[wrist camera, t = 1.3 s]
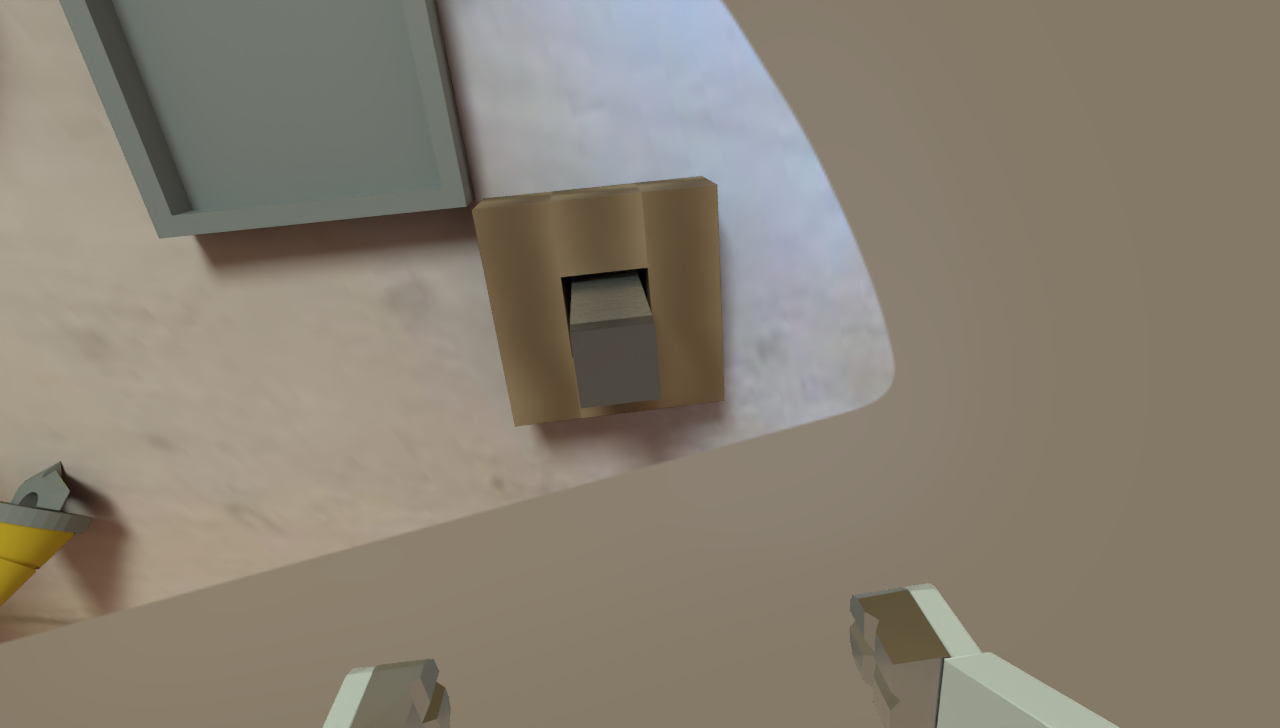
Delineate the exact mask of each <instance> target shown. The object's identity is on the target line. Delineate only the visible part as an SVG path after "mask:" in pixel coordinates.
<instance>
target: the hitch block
mask: <svg viewBox="0 0 1280 728" xmlns="http://www.w3.org/2000/svg"><path fill="white" fill-rule="evenodd" d="M472 214H473V219H474V224H475V229H476V234H477V239H478V244H479V249H480V254H481V259H482V264H483V269H484V274H485V279H486V284H487V289H488V294H489V299H490V304H491V309H492V314H493V319H494V324H495V329H496V334H497V339H498V344H499V349H500V354H501V359H502V364H503V369H504V374H505V379H506V384H507V389H508V394H509V399H510V404H511V409H512V414H513V419H514V424H515V426H523V425H531V424H539V423H547V422H555V421H563V420H571V419H580V418H588V417H596V416H604V415H612V414H620V413H628V412H636V411H645V410H653V409H661V408H669V407H677V406H685V405H693V404H701V403H709V402H718V401H724V374H723V344H722V314H721V284H720V254H719V224H718V194H717V184H715V183H713V182H711V181H710V180H708V179H706V178H704V177H702V176H699V177H689V178H680V179H670V180H660V181H651V182H641V183H631V184H621V185H612V186H602V187H592V188H583V189H573V190H563V191H554V192H544V193H534V194H525V195H515V196H505V197H495V198H486V199H483V200H482V201H481V202H480V203H479V204H478V205H477V206H476V207H475V208H474V209H472ZM639 268H642V273H643V284H644V293H645V296H646V299H647V302H648V305H649V307H650V310H651V313H652V316H653V319H654V321H655V329H656V341H657V353H658V365H659V378H660V390H661V399H655V400H647V401H639V402H631V403H623V404H615V405H606V406H598V407H590V408H582V409H581V407H580V401H579V394H578V387H577V380H576V373H575V366H574V359H573V353H572V346H571V339H570V307H569V300H568V293H567V286H566V279H565V277H567V276H576V275H585V274H594V273H603V272H612V271H621V270H630V269H639Z"/></svg>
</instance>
